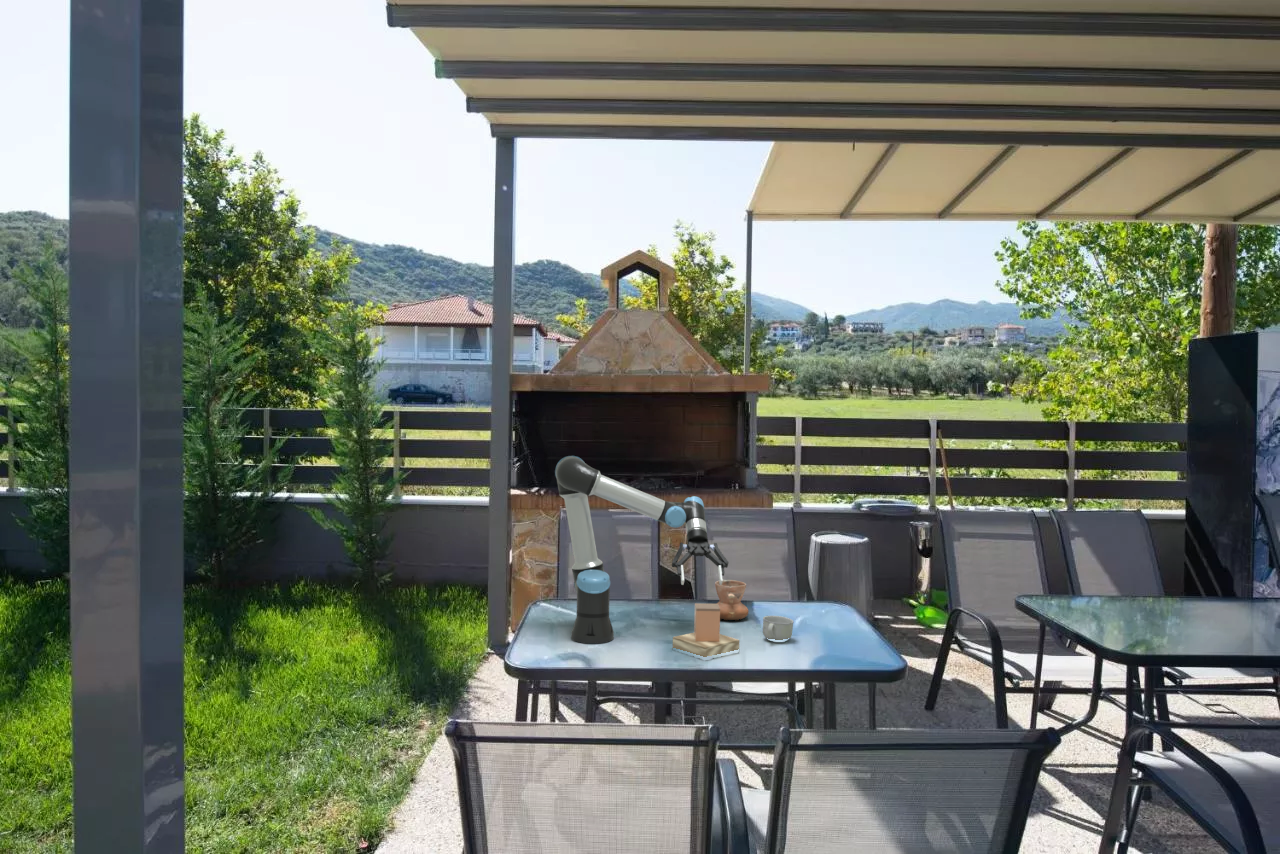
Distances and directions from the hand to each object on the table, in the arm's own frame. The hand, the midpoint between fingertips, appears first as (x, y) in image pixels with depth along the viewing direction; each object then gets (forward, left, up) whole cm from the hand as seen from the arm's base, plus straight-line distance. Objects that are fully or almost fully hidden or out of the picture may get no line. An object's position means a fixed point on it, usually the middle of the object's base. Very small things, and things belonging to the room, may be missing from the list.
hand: (702, 582), depth 308 cm
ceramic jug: (+35, +20, -22) cm, 46 cm away
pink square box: (-6, -9, -17) cm, 20 cm away
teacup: (+23, -14, -22) cm, 35 cm away
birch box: (-6, -9, -22) cm, 24 cm away
